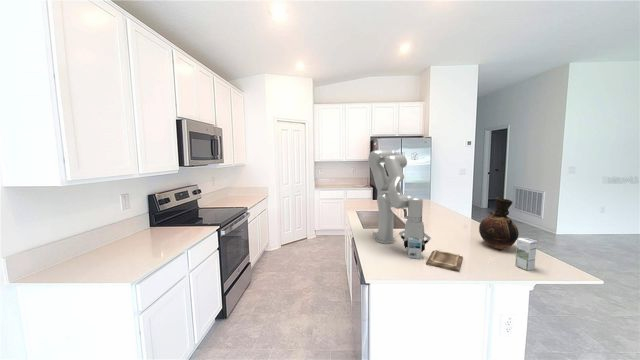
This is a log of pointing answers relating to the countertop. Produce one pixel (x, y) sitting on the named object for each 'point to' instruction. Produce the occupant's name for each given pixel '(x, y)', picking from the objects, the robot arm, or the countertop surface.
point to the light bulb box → (414, 248)
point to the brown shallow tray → (445, 260)
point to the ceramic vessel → (499, 226)
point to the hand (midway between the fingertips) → (414, 249)
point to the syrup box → (526, 253)
